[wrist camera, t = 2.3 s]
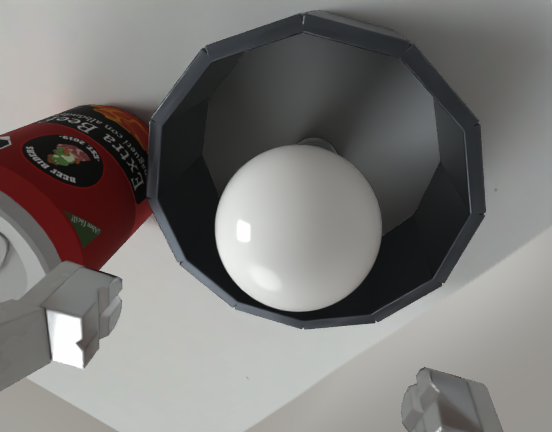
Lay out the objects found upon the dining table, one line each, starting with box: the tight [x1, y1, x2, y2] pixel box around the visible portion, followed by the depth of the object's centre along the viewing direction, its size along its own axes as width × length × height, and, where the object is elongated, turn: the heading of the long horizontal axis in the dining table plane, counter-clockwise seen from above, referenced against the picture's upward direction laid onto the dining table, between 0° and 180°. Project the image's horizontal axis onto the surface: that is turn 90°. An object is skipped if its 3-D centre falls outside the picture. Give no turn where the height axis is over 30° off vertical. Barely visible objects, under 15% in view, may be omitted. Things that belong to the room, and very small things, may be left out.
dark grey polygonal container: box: [146, 10, 486, 329], centre depth 19 cm, size 14×14×6 cm
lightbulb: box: [215, 138, 382, 312], centre depth 17 cm, size 6×6×11 cm
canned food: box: [0, 105, 153, 303], centre depth 19 cm, size 8×8×11 cm
